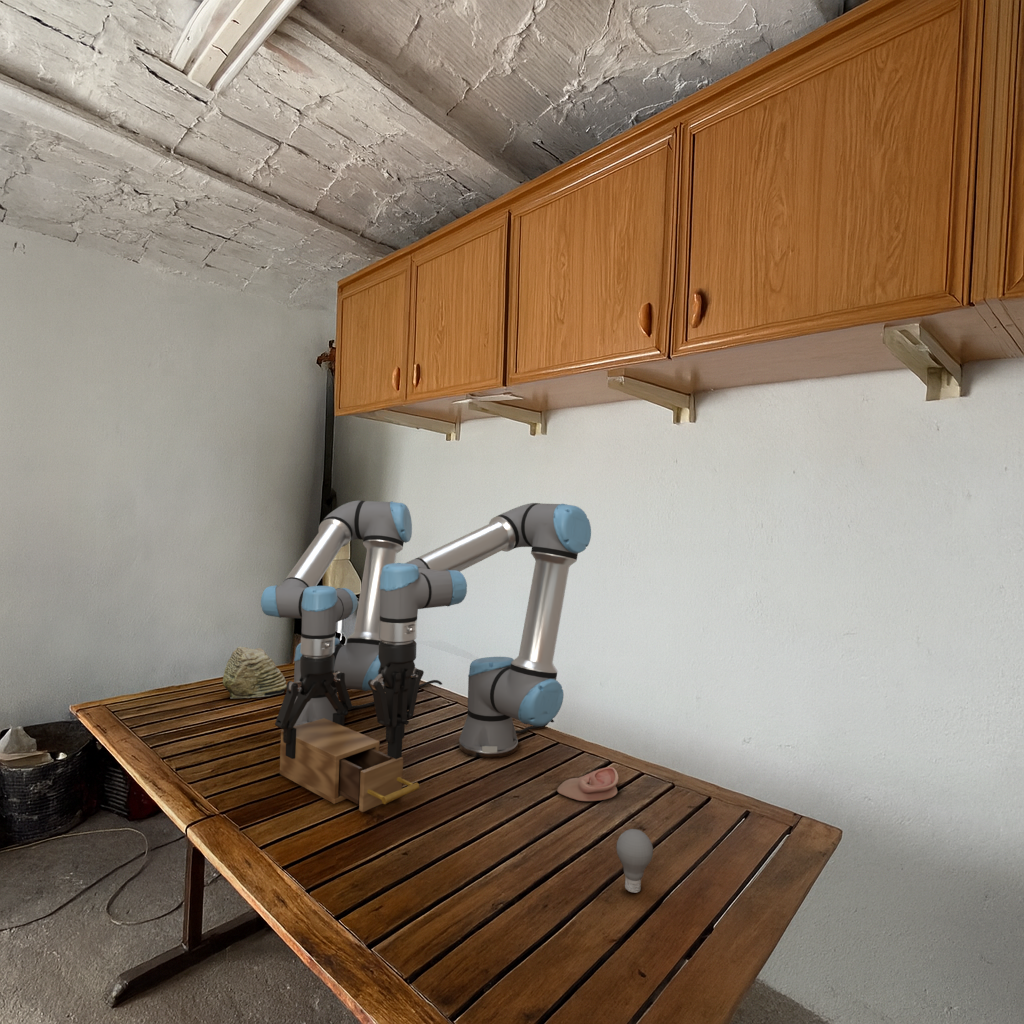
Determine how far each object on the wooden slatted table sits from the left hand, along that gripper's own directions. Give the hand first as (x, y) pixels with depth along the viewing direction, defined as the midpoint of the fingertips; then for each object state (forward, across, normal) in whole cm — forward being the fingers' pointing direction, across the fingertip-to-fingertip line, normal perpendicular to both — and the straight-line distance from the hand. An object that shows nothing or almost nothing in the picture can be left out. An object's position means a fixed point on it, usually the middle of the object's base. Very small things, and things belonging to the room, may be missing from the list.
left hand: (314, 749), depth 145 cm
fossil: (+5, +19, +60) cm, 64 cm away
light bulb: (+6, +10, -76) cm, 77 cm away
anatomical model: (+5, +36, -51) cm, 63 cm away
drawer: (+4, 0, -18) cm, 18 cm away
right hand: (-6, 0, -27) cm, 28 cm away
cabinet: (+5, 0, -6) cm, 8 cm away
